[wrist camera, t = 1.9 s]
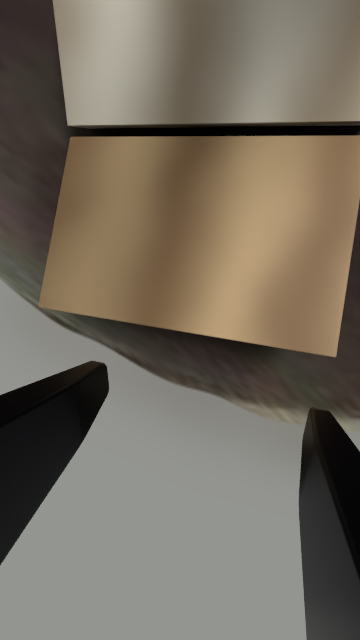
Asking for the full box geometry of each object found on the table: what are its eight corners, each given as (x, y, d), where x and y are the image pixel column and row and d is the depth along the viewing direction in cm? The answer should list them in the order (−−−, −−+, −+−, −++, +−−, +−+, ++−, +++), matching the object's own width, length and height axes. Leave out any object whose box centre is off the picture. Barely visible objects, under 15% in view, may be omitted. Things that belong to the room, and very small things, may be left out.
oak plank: (356, 162, 15) (369, 135, 13) (327, 356, 15) (335, 357, 13) (90, 158, 19) (70, 136, 17) (62, 311, 19) (38, 307, 17)
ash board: (407, -67, 12) (425, -104, 10) (364, 125, 15) (373, 120, 13) (75, -16, 16) (48, -37, 14) (89, 128, 19) (67, 125, 17)
